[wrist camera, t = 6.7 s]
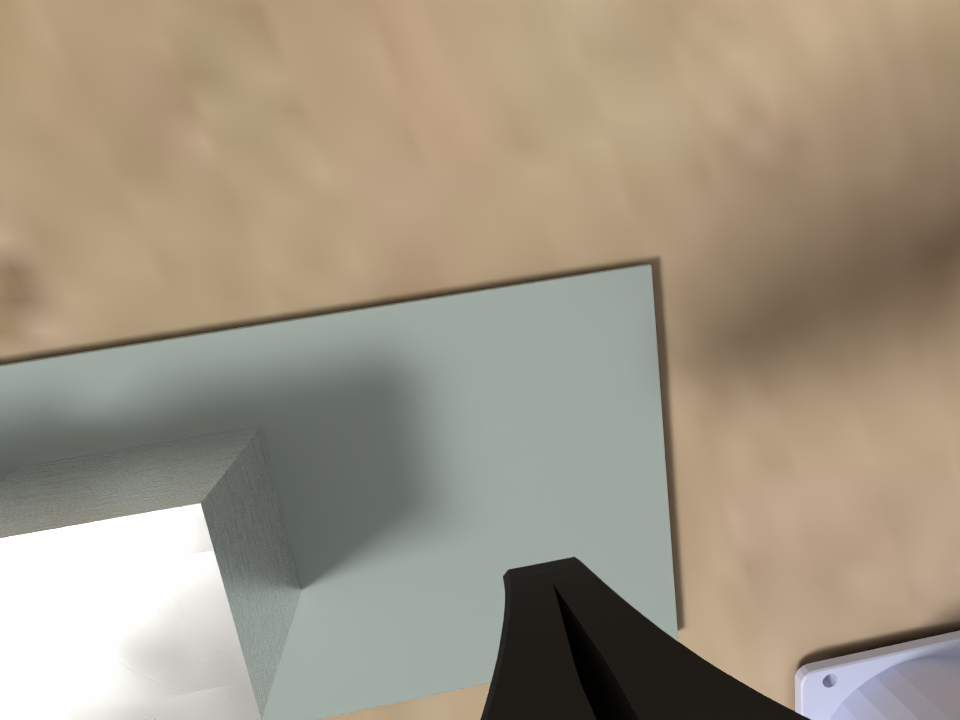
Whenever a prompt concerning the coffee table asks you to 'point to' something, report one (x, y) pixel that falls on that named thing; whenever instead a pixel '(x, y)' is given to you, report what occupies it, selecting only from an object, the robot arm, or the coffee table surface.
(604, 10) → the coffee table surface
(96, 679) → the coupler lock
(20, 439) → the mat
